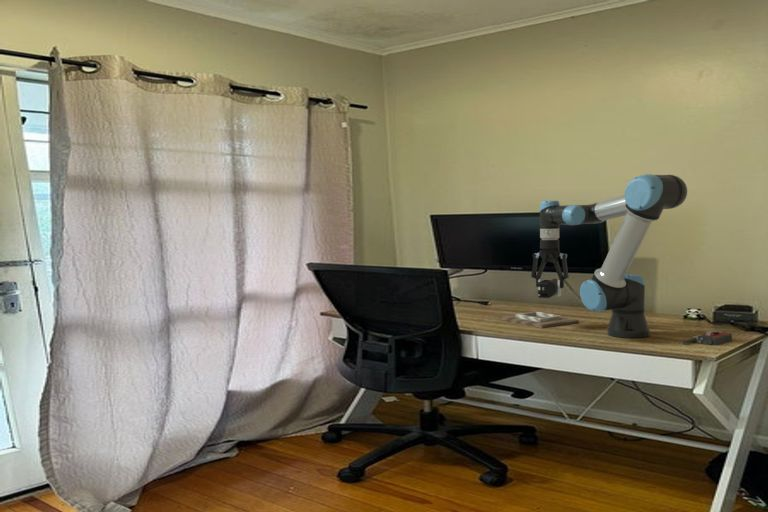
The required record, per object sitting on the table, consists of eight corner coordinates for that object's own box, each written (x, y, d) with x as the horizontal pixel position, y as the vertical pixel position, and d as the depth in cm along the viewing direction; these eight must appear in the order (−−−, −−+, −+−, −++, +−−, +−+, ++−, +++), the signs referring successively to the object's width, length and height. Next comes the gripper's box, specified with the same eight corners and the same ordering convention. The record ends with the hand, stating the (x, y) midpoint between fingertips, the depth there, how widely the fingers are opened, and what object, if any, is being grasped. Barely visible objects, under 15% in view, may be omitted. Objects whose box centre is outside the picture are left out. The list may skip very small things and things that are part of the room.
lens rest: (578, 323, 277) (578, 316, 276) (542, 328, 267) (542, 321, 267) (534, 314, 301) (534, 309, 301) (499, 319, 292) (499, 313, 292)
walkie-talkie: (710, 338, 239) (679, 345, 227) (710, 326, 238) (679, 333, 227) (735, 341, 231) (703, 349, 220) (735, 329, 231) (703, 336, 220)
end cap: (555, 298, 259) (555, 281, 258) (537, 297, 262) (537, 281, 262) (561, 295, 267) (561, 278, 267) (544, 294, 271) (544, 278, 270)
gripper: (522, 239, 265) (522, 295, 267) (572, 239, 255) (572, 298, 256) (528, 238, 271) (528, 293, 273) (577, 238, 261) (577, 295, 263)
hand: (549, 295), depth 265 cm, fingers closed on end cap, 7 cm apart
